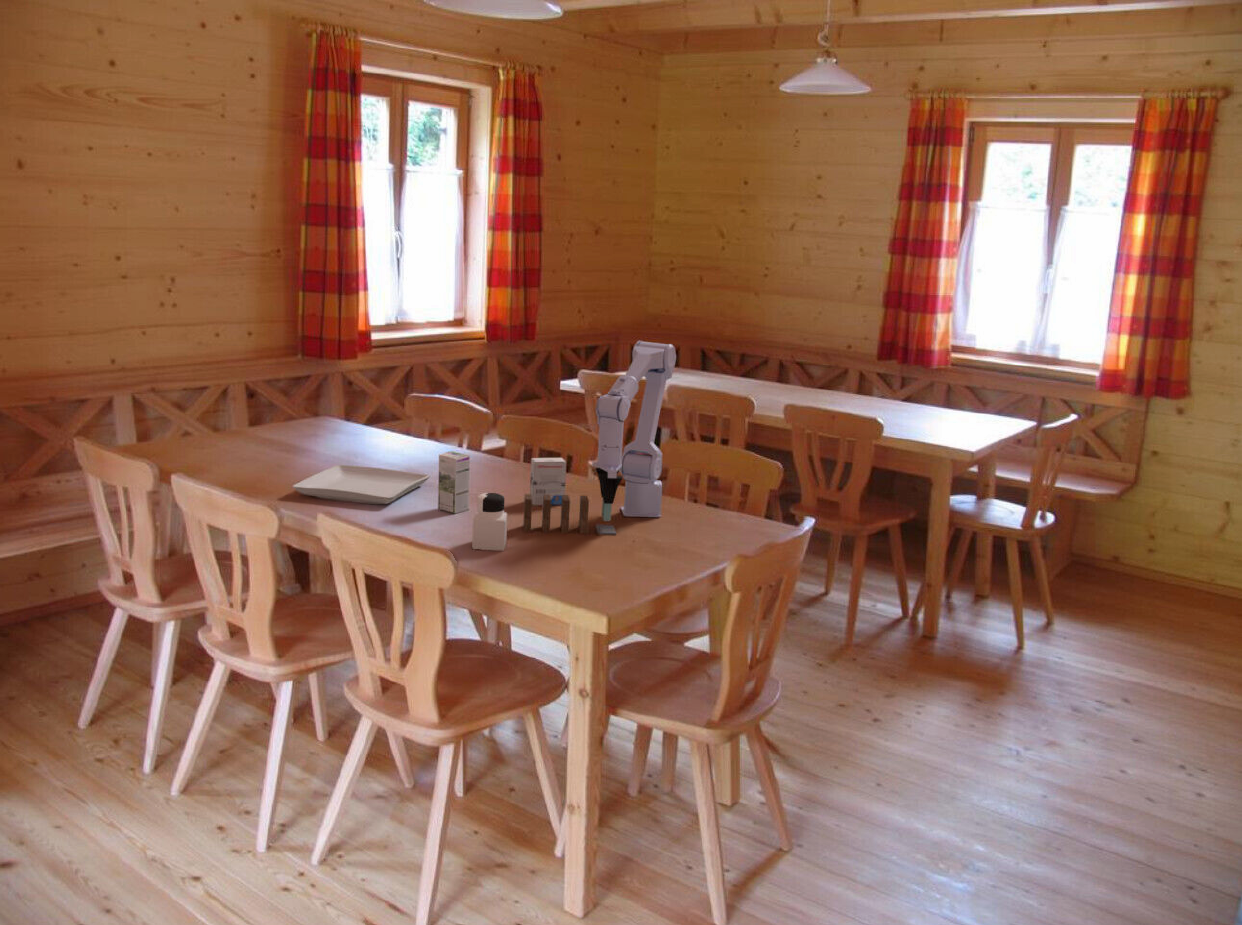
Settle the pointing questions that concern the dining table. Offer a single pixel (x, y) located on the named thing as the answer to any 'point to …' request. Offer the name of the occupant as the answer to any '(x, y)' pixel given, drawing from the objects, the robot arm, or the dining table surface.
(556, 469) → the ink box
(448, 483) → the syrup box
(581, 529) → the domino
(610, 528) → the slot pad
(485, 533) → the medicine bottle
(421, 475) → the square plate
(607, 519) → the teal tile
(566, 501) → the domino
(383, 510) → the dining table surface
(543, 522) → the domino
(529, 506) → the domino
